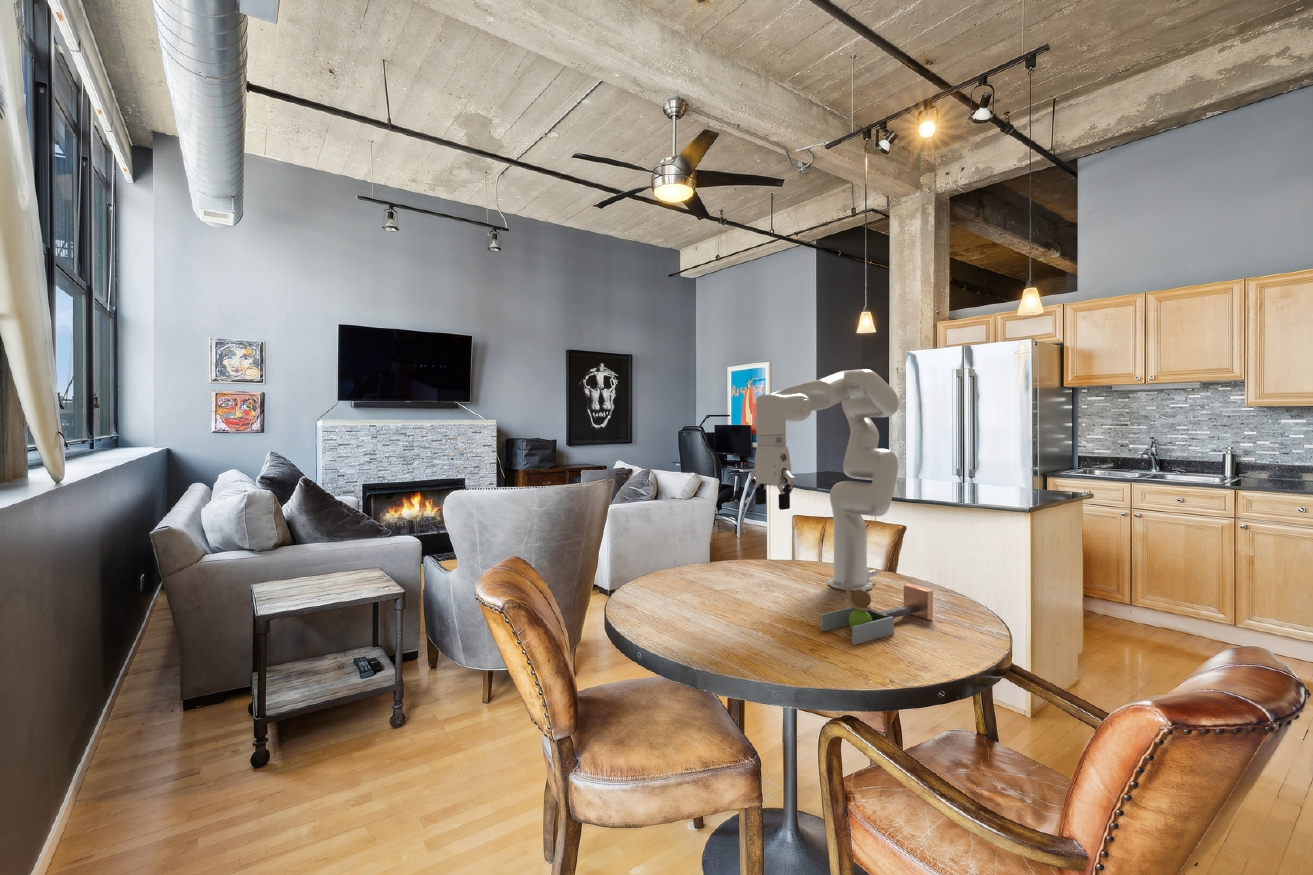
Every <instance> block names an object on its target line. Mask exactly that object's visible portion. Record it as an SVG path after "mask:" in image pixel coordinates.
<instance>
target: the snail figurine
mask: <svg viewBox="0 0 1313 875" xmlns="http://www.w3.org/2000/svg"><path fill="white" fill-rule="evenodd" d="M847 582H848V580H845V585H846V584H847ZM845 589H846V590H845V594H846V598H847V600H848V603H849V604H850V606H851V607H853V608H855V609H856V610H854V611H853V612H851V614H850V615H849V619H848V621H849V625H848V626H849V627H850V628H851V629H852V626H856V625H860V624H864V623H868V622H872V617H871V615H870V614H869V613H868V612H867V611H869V610H870V609H872V607H871V606H870V605H871V602H872V597H871V594H870V593H869V592H868V590H863V589H858V590H855V591H851V586H850V585H846V586H845Z"/></svg>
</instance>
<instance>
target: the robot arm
mask: <svg viewBox="0 0 1313 875" xmlns="http://www.w3.org/2000/svg"><path fill="white" fill-rule="evenodd" d="M840 403H841V406H842V410H843V413H844V416H845V417H846V419H847V421H848V425H849V429H850V435H849V439H848V442H847V443H848V444H847V447H846V451H845V456H844V460H843V464H842V467H843V468H842V470H843V473H844V474H845V475H846V476H847V477H849V478H851V479H856V480H857V479H858V480H867V481H872V482H871V483H870V482H862V481H852V480H851V481H849V480H844V481H843V480H842V481H839V482H837V483H835V484H833V486H832V487H831V489H830V492H829V502H830V506H831V510H832V518H833V577H831V578H829V579H828V585H829V586H830V587H832V588H834V589H837V590H841V591H846V589H845V586H846V585H850V586H851V592H854V591H855V590H858V589H863V590H865V591H868V590H871V589H872V588H873V582H872V581H871V580H870V578H872V577H877V575H878V572H877V570H876V569H872V570H869V569H868V531H867V530H868V528H867V525H866V522H865V520H864V518H863V517H862V516H867V517H868V516H869V517H878V518H879V517H883V516H885V515H886V514H887V513H888V511H889V509H890V507H891V502H892V500H893V499H892V498H893V495H894V491H895V486H896V483H897V482H896V481H897V479H898V478H897V477H898V473H899V461H898V460H899V459H898V457H897V455H896V454H895V452H893V451H892V450H890V449H886V448H878V447H879V446H878V445H879V441H880V434H879V430H878V428H877V426H876V425H875V423H874V422H873V420H872V419H871V418H889V417H892V416H893V415H894V414H896V413H897V411H898V408H899V404H900V403H899V398H898V394H897V393H896V391H895V389H894V388H892V387H891V386H890V385H889V384H888V383H887V381H885V380H884V379H883V378H882V376H880V375H878V373H876V372H875V371H873V370H871V369H867V368H865V369H864V368H862V369H852V370H851V369H850V370H841V371H838V372H834V373H833V374H832V373H831V374H829V375H826V376H824V377H822V378H819V379H817V380H812V381H809V382H804V383H802V384H798V385H794V386H790V387H787V388H784V389H780V390H777V391H774V392H771V393H769V394H768V393H767V394H760V395H758V396H757V397H756V399H755V411H756V412H755V417H756V418H755V419H756V425H755V426H756V448H755V454H754V455H755V456H754V469H753V470H751V471H750V474H749V475H750V478H751V483H752V485H753V489H754V494H755V496H754V498H755V502H754V503H755V505H758V506H759V505H760V506H761V505H766V504H767V489H766V488H765V487H767V486H773V487H777V489H778V491H779V493H778V509H779V510H781V511H783V510H789V509H790V508H791V495H790V494H792V491H793V489H794V487H795V483H796V477H795V476H794V475H793V474H792V465H791V459H790V458H791V457H790V453H789V452H790V451H789V448H788V447H787V444H786V443H787V429H786V428H787V425H786V424H787V423H786V422H790V423H791V422H803V421H804V420H806V419H808V418H809V417H810V416H811V414H812V412H813V411H815V412H816V411H822V410H826V409H829V408H831V407H833V406H836V405H837V404H840ZM845 580H848V582H847V584H846V585H845Z"/></svg>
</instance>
